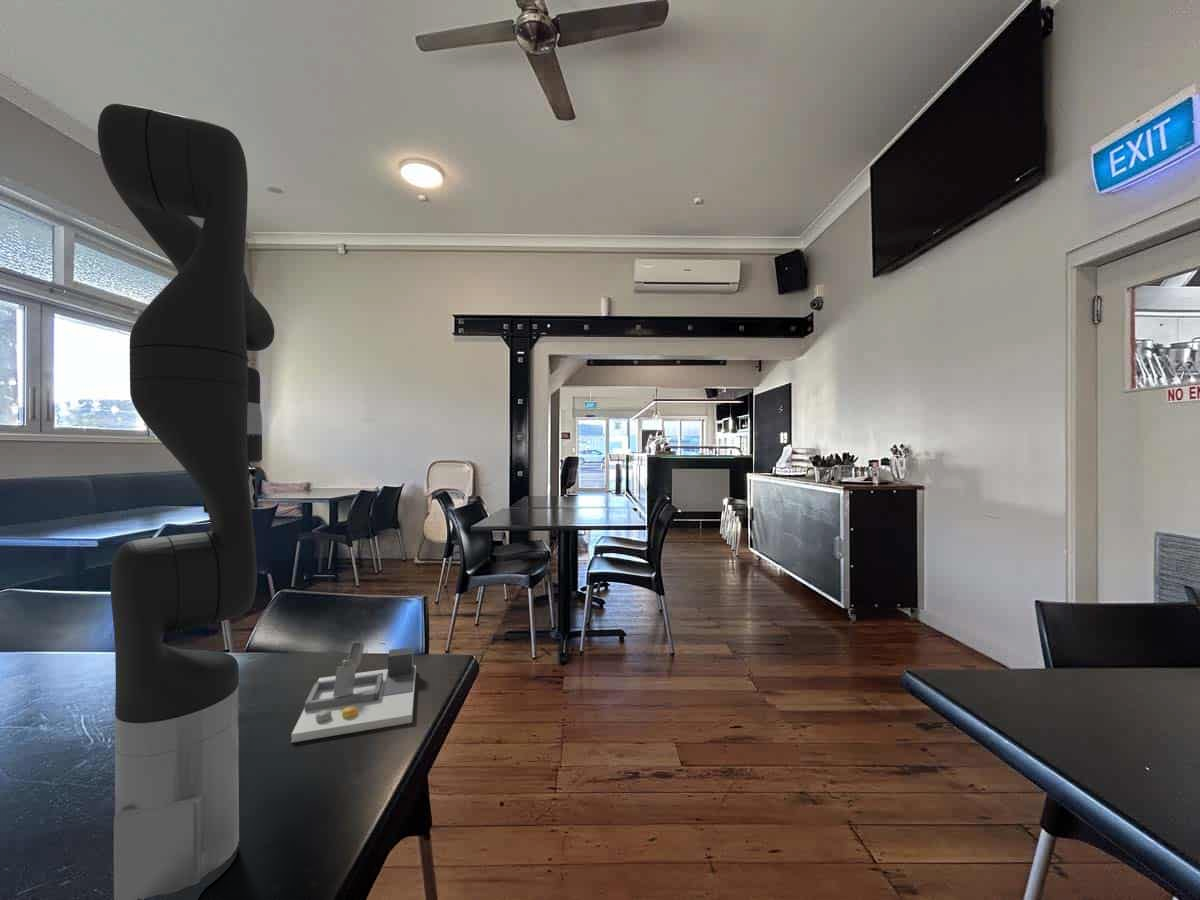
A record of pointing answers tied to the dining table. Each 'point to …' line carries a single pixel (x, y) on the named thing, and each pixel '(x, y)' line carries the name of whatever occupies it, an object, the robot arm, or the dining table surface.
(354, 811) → the dining table surface
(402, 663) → the block
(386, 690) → the board
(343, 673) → the lighter
